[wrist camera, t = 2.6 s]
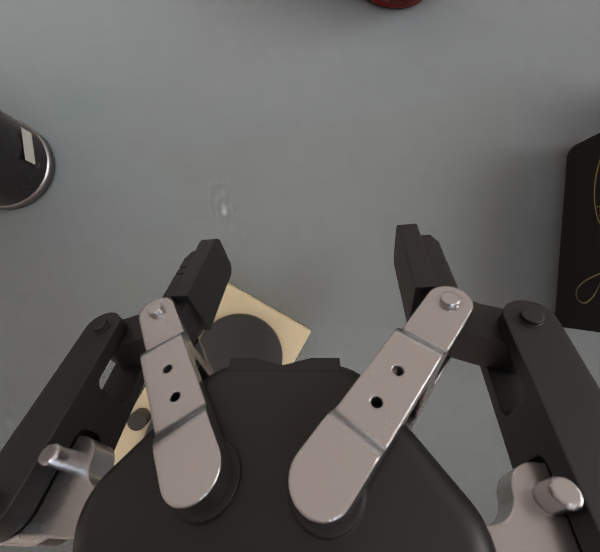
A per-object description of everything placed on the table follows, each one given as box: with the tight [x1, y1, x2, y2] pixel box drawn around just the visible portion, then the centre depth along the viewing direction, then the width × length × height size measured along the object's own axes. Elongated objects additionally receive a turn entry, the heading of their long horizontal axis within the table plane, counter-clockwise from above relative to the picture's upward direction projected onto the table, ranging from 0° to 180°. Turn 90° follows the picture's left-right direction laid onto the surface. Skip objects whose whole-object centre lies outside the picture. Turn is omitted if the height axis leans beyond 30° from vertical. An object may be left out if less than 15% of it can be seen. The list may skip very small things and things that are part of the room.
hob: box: [114, 283, 311, 465], centre depth 29 cm, size 12×22×3 cm, turn 150°
